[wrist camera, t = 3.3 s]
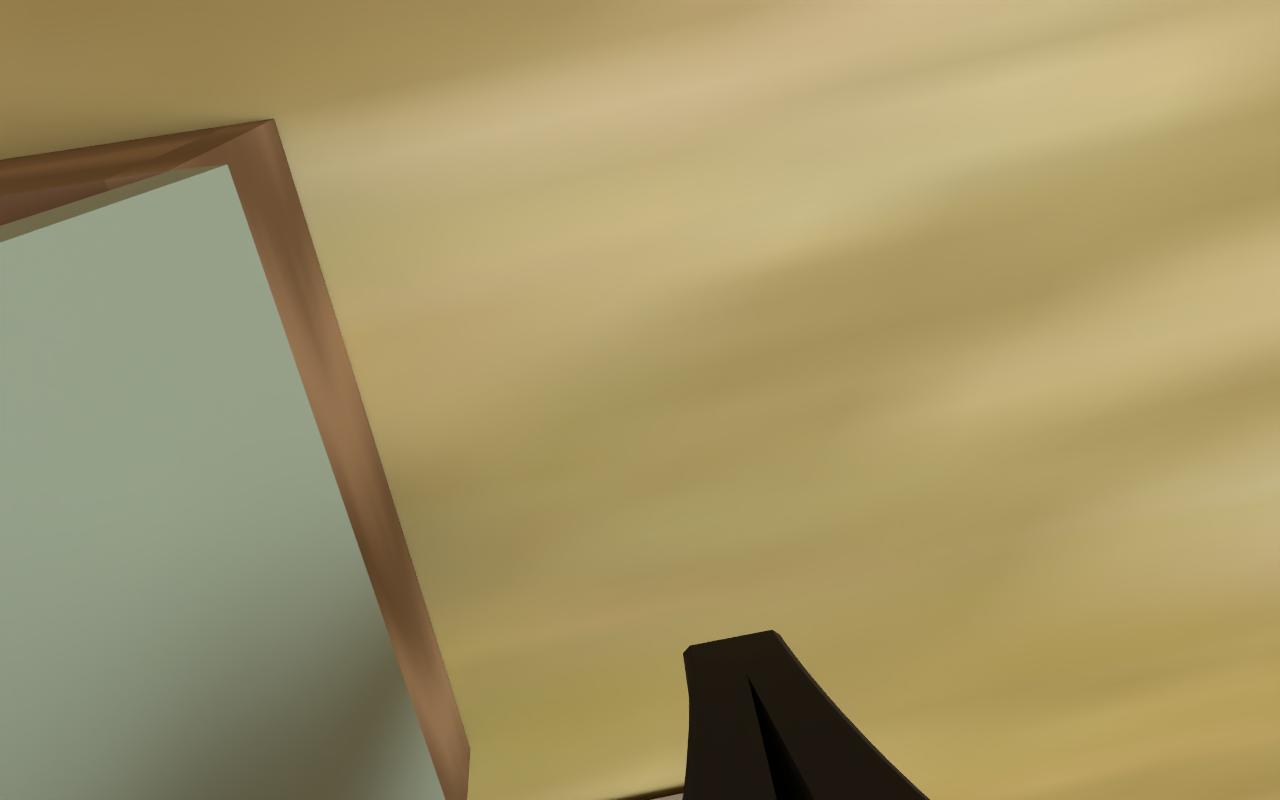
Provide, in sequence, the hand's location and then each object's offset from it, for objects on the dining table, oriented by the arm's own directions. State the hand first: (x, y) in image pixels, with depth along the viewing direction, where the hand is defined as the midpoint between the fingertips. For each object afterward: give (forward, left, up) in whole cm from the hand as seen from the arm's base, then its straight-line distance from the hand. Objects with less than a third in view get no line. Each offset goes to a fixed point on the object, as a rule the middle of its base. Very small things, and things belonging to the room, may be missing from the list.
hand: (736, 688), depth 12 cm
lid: (0, +8, +4) cm, 9 cm away
